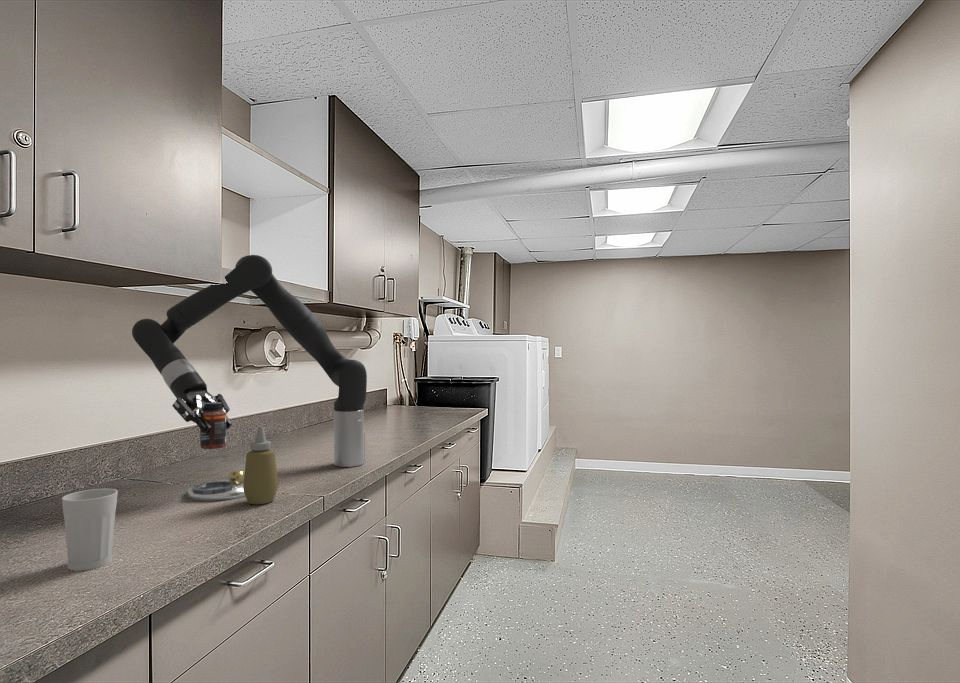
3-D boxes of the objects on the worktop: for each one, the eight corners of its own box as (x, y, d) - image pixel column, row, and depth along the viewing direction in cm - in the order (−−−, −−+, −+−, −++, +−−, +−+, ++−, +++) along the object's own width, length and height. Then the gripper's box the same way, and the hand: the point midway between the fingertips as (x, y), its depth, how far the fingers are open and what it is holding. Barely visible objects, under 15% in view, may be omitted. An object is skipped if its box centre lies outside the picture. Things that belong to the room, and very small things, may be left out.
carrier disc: (223, 482, 154) (223, 466, 154) (270, 487, 148) (270, 470, 148) (173, 497, 139) (173, 479, 139) (222, 503, 133) (222, 485, 133)
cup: (100, 571, 93) (100, 500, 93) (50, 573, 92) (50, 501, 93) (127, 554, 101) (127, 487, 101) (80, 555, 100) (80, 489, 100)
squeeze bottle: (265, 495, 140) (265, 424, 140) (285, 500, 136) (285, 426, 136) (235, 503, 134) (235, 428, 134) (255, 508, 129) (255, 430, 129)
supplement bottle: (230, 445, 143) (231, 401, 143) (217, 450, 137) (217, 404, 137) (209, 445, 144) (209, 401, 144) (194, 449, 138) (195, 403, 138)
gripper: (166, 371, 137) (203, 422, 132) (213, 369, 150) (248, 415, 146) (151, 392, 138) (186, 443, 134) (199, 388, 152) (232, 434, 148)
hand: (218, 428), depth 140 cm, fingers closed on supplement bottle, 6 cm apart
